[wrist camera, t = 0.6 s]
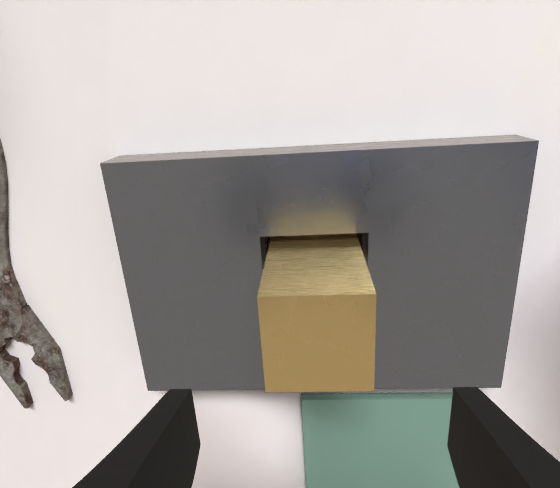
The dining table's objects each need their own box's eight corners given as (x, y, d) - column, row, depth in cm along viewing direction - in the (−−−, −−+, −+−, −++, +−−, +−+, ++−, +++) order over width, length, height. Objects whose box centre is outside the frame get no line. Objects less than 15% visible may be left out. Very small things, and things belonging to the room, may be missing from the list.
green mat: (481, 392, 24) (484, 398, 23) (464, 519, 27) (467, 526, 27) (301, 393, 24) (301, 400, 24) (307, 516, 28) (307, 524, 27)
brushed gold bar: (354, 226, 21) (376, 293, 14) (354, 299, 22) (373, 391, 15) (272, 230, 21) (257, 296, 14) (277, 301, 22) (265, 392, 16)
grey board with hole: (515, 134, 19) (538, 140, 17) (485, 362, 23) (501, 387, 21) (119, 155, 20) (99, 163, 18) (160, 366, 24) (147, 390, 22)
